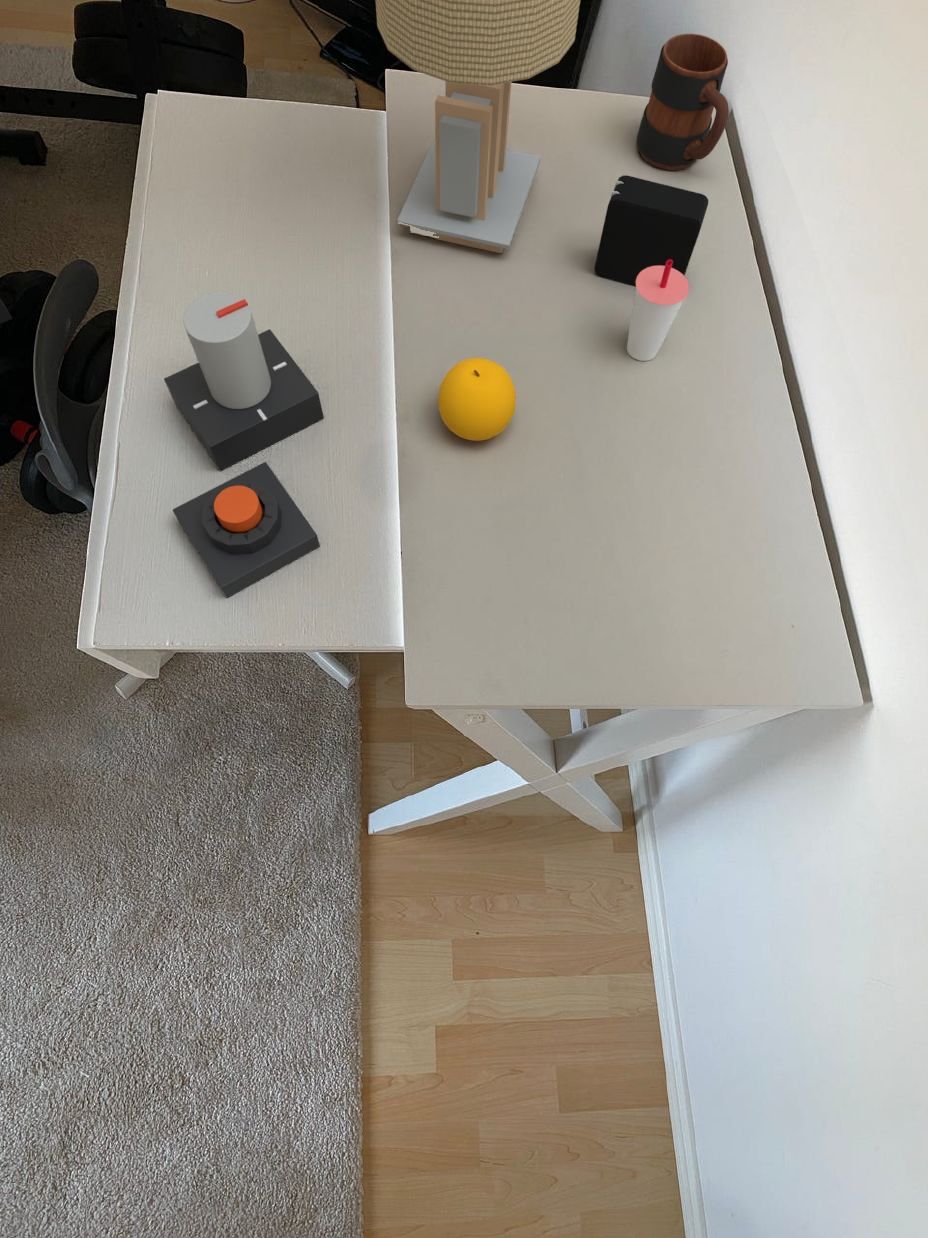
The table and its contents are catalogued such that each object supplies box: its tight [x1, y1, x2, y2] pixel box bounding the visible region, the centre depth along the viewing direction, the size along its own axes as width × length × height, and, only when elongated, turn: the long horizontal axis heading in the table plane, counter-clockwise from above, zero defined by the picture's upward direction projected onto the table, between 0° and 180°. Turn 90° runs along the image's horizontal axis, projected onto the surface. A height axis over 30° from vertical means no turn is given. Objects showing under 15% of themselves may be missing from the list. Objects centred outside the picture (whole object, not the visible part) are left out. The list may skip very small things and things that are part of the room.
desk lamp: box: [375, 0, 581, 254], centre depth 80 cm, size 20×20×35 cm
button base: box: [172, 461, 321, 599], centre depth 74 cm, size 10×10×4 cm
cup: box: [626, 259, 690, 362], centre depth 81 cm, size 5×5×12 cm
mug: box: [636, 33, 730, 171], centre depth 95 cm, size 9×12×12 cm
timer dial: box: [182, 291, 271, 409], centre depth 74 cm, size 6×6×9 cm
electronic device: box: [593, 174, 709, 287], centre depth 87 cm, size 4×10×10 cm, turn 71°
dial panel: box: [163, 328, 325, 472], centre depth 80 cm, size 12×10×4 cm
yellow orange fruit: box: [437, 357, 517, 442], centre depth 79 cm, size 8×8×8 cm
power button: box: [214, 486, 262, 533], centre depth 72 cm, size 4×4×2 cm
